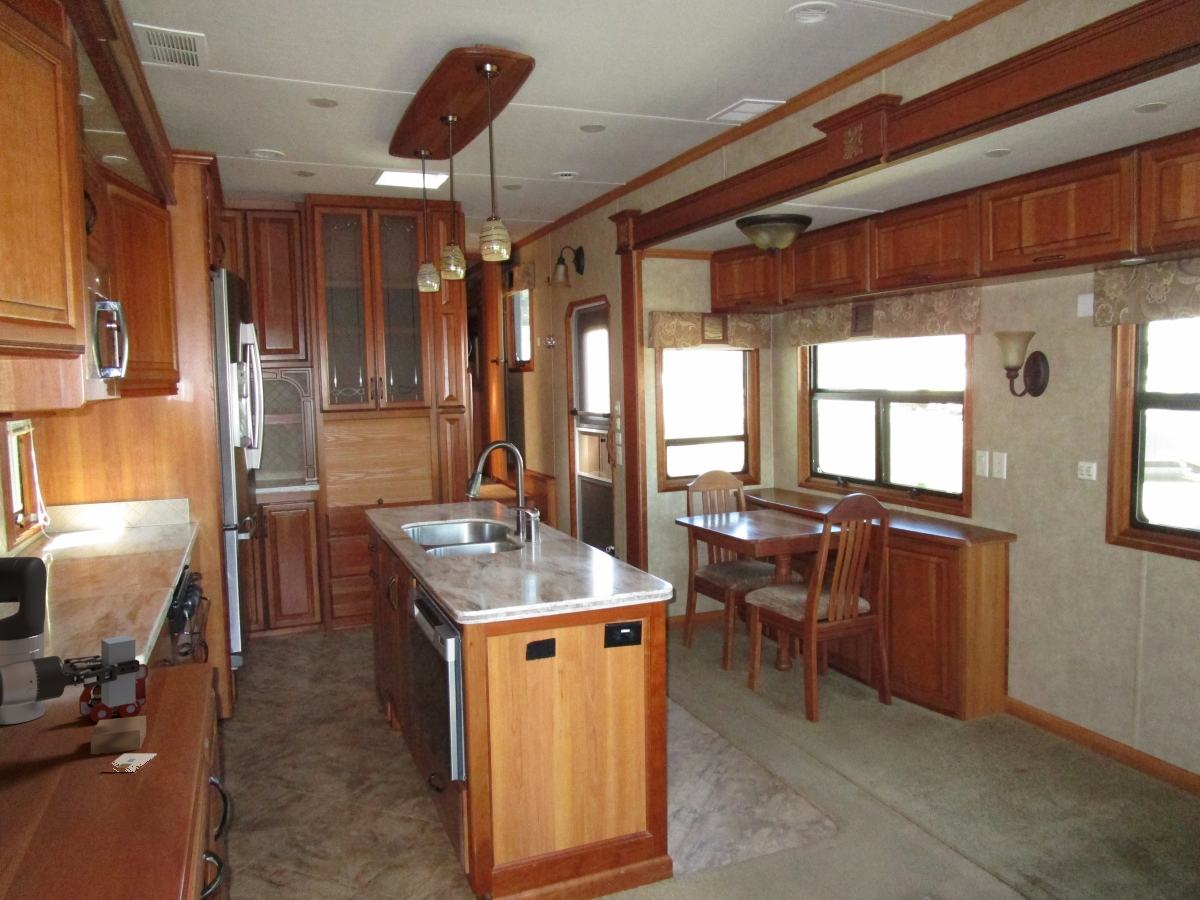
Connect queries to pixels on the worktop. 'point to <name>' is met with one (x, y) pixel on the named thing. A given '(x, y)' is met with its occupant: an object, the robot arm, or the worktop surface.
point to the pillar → (125, 684)
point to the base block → (118, 735)
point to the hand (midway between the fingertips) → (133, 662)
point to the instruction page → (132, 761)
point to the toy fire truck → (104, 712)
